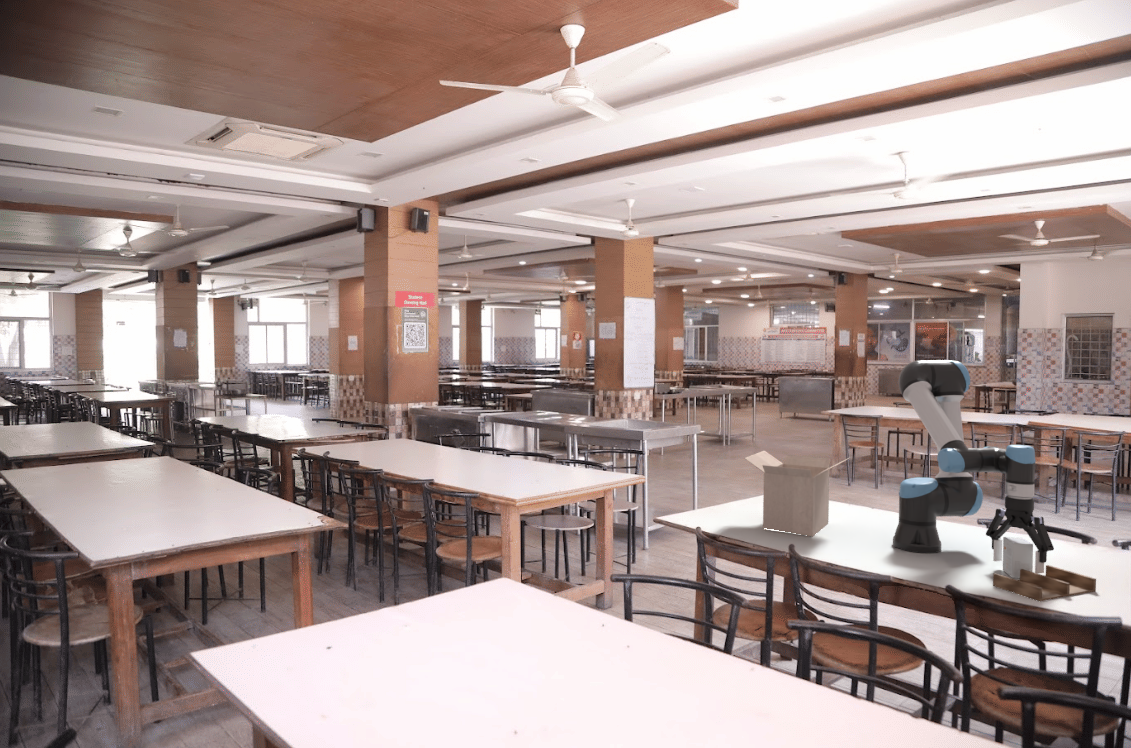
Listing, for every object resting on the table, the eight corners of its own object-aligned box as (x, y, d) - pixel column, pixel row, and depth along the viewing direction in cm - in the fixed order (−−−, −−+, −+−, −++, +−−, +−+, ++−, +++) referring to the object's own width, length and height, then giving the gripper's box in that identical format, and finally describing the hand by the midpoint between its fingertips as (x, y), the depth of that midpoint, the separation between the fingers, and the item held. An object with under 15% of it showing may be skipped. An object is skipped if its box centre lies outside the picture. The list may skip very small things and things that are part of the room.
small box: (1032, 579, 224) (1033, 544, 224) (1011, 578, 225) (1012, 543, 225) (1022, 571, 232) (1023, 537, 232) (1002, 570, 233) (1003, 536, 233)
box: (850, 524, 290) (852, 456, 289) (831, 542, 265) (833, 467, 263) (765, 513, 308) (766, 449, 307) (740, 529, 282) (741, 458, 281)
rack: (992, 585, 218) (993, 573, 218) (1047, 576, 226) (1048, 565, 226) (1039, 601, 205) (1039, 588, 205) (1095, 591, 213) (1096, 578, 213)
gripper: (974, 490, 238) (972, 557, 238) (1051, 505, 215) (1049, 579, 215) (991, 488, 241) (989, 554, 241) (1069, 503, 217) (1067, 576, 218)
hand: (1017, 566), depth 228 cm, fingers open, 13 cm apart
